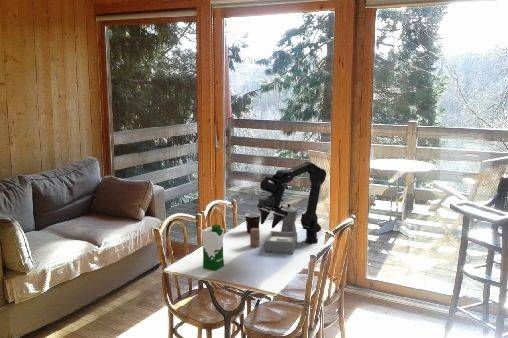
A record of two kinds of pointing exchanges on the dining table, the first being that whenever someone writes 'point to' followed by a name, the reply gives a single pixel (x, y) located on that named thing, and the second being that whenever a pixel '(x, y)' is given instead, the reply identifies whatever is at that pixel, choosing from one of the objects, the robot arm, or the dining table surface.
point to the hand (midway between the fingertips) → (267, 226)
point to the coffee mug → (252, 221)
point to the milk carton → (213, 247)
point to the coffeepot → (289, 219)
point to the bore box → (281, 242)
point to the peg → (254, 237)
